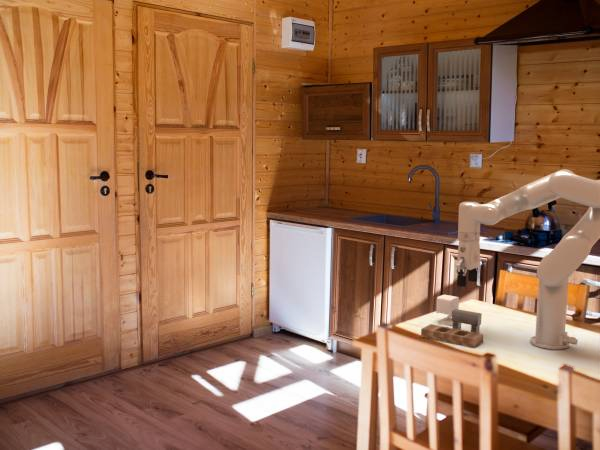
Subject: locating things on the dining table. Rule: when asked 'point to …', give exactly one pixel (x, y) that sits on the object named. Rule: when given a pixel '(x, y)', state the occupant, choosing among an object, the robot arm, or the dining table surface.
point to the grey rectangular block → (466, 319)
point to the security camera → (447, 307)
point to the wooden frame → (452, 335)
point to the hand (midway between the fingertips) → (467, 283)
